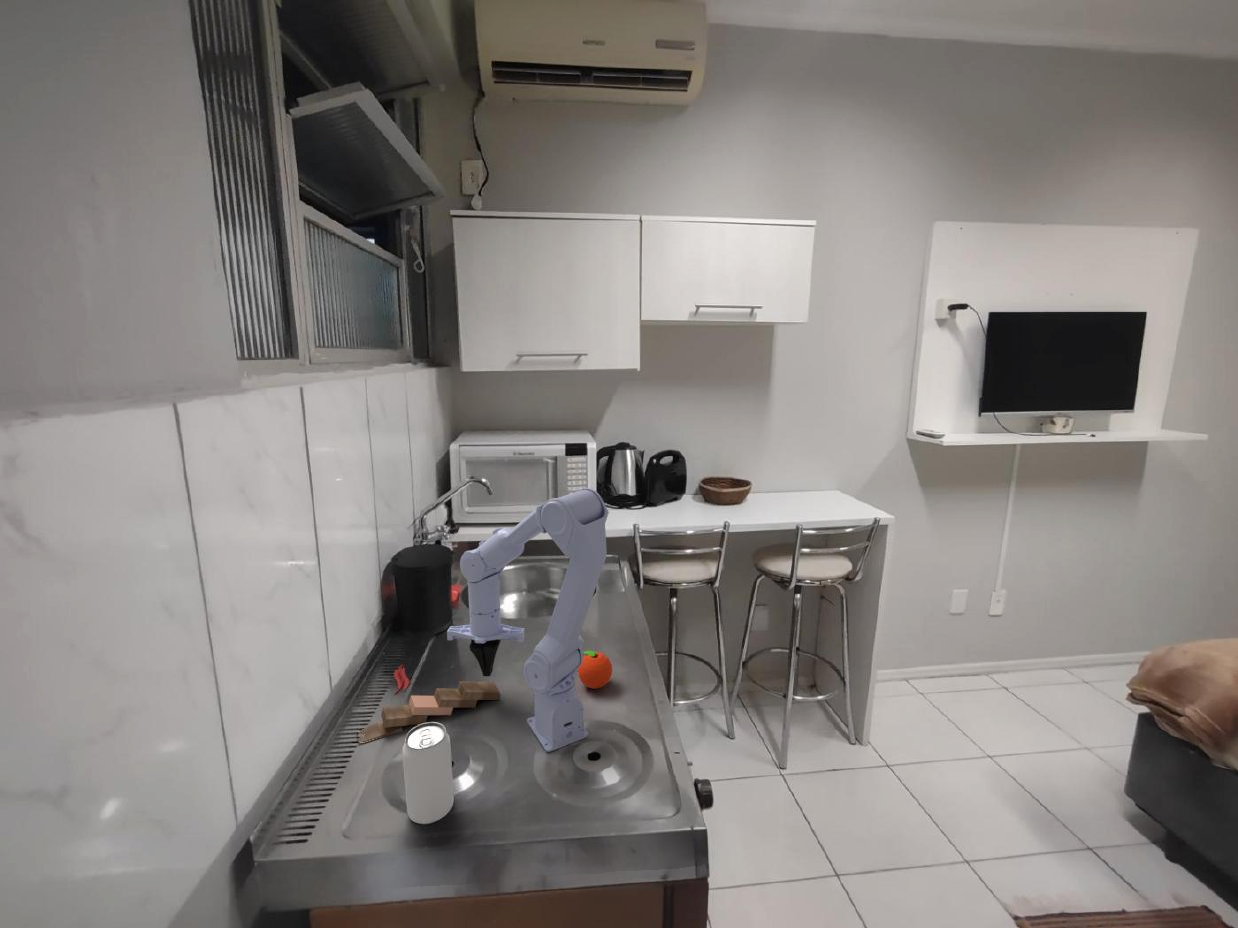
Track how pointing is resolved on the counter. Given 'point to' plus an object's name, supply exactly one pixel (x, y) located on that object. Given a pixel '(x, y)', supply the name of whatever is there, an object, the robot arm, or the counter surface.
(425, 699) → the domino
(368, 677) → the counter surface
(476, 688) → the domino
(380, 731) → the domino
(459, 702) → the domino
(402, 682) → the cayenne pepper
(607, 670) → the clementine
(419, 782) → the can
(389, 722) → the domino
